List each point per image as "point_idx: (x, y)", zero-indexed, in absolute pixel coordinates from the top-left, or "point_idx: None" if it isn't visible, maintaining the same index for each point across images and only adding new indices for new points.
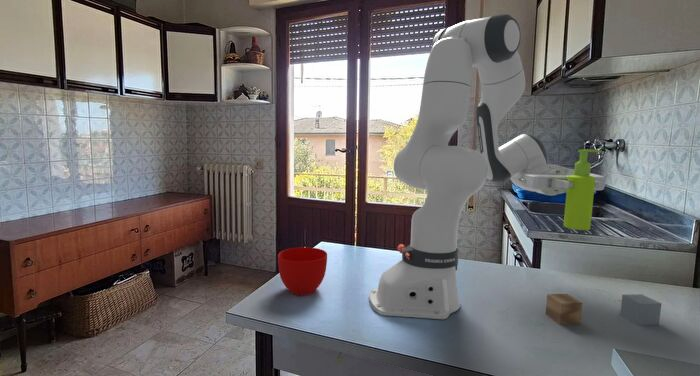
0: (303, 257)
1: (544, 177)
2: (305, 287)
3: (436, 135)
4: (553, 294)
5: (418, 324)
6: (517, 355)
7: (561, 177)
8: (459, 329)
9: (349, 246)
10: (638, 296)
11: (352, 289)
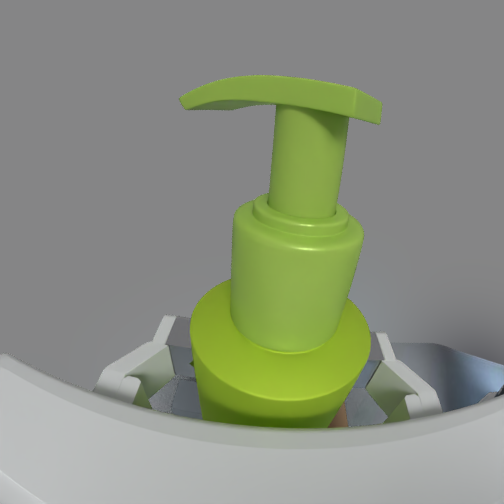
0: None
1: (490, 399)
2: None
3: None
4: (338, 426)
5: (479, 398)
6: (403, 359)
7: (385, 423)
8: (447, 395)
9: None
10: (187, 403)
11: None
